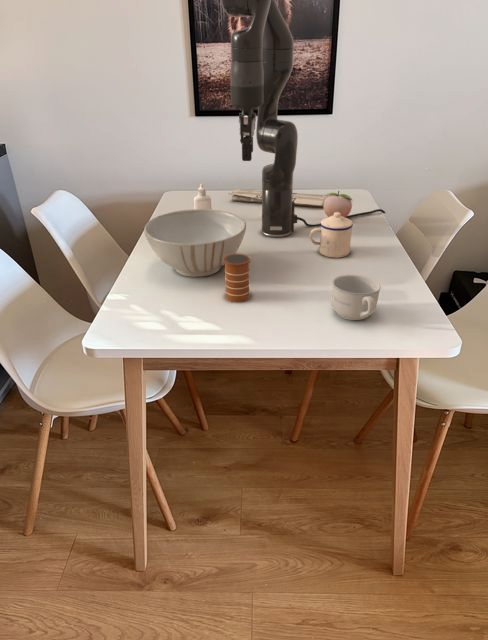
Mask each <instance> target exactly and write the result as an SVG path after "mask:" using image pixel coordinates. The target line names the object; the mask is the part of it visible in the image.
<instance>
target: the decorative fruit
mask: <svg viewBox="0 0 488 640" xmlns="http://www.w3.org/2000/svg"><path fill="white" fill-rule="evenodd" d="M324 195H325V196H327V195H329V196H328V197H327V198H326V199H325V201H324V207H323V211H324V214H325V215H326V216H327V217H330V216H333V215H334V213H335V212H339V213H341V216H343V217H346V216H349V215H350V213H351V212H352V208H353V203H352V201H353V198H352V197H351V196H350V195H348V194H344V193H341V194H340V190H338V191H337V193H336V192H329V193H326V194H324Z"/></svg>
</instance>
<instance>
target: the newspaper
mask: <svg viewBox="0 0 488 640" xmlns="http://www.w3.org/2000/svg"><path fill="white" fill-rule="evenodd" d="M227 194H229V195H232V196H231V200H232V202H240V203H241V202H243V203H259V204H262V190H254V189H242V188H240V189H239V188H236V189H234V190H233V191H231V192H228V193H227ZM325 195H326V194H315V193H314V194H313V193H299V192H292V201H294V203H295V206H309V207H321V208H324V201H325V199H326V198H327V197H328V196H329V195H327V196H325Z"/></svg>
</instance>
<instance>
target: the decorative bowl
mask: <svg viewBox="0 0 488 640" xmlns="http://www.w3.org/2000/svg"><path fill="white" fill-rule="evenodd" d="M246 230H247V223H246V221H245V220H244V219H243V218H242V217H240V216H239V215H237V214H235V213H232V212H228V211H224V210H219V209H212V210H209V209H194V208H193V209H184V210H183V209H181V210H176V211H171V212H167V213H164V214H160V215H158V216H156V217H154V218H152V219H150V220H149V221H147V223H146V224H145V225H144V229H143V232H144V235H145V238H146V240H147V242H148V245H150V247H151V249H152V250H153V252H154V254H155V255H157V257H158V258H159V259H160V260H161V261H162V262H163V263H164V264H166V265H168V266H169V267H171V268H173V269H175V271H176V272H177V273H178V274H180V275H182V276H185V277H192V278H200V277H208V276H211V275H213V274H215V273H218V271H220V269H221V267H222V266H225V264H224V258H225V257H226V256H228V255H232V254H237V251H238V250H239V248H240V246H241V245H242V243H243V240H244V237H245V234H246Z"/></svg>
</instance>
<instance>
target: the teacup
mask: <svg viewBox="0 0 488 640" xmlns="http://www.w3.org/2000/svg"><path fill="white" fill-rule="evenodd" d="M331 284H332V286H331V295H330V304H331V305H330V306H331V307H332V309H333V311H334V312H335V313H336V314H337V315H338V316H339V317H341V318H343V319H345V320H349V321H361V320H364V319H366V318H367V317H369V316H372V315H373V314H374V313H375V311H376V309H377V306H378V301H379V297H380V292H381V283H379V281H377V280H375V279H373V278H371V277H368V276H364V275H359V274H343V275H339V276H336V277H335V278H333V279H332V281H331Z"/></svg>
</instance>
